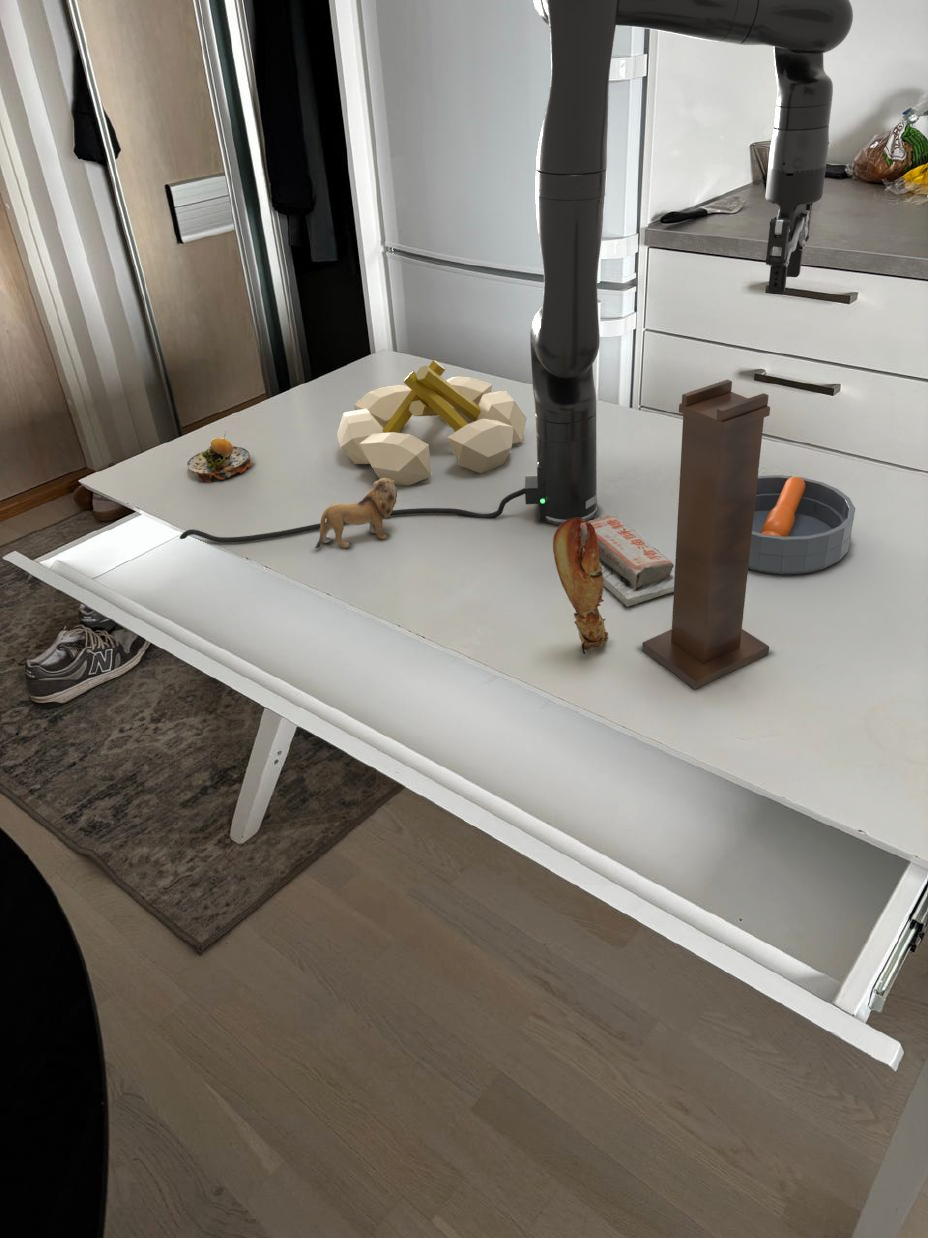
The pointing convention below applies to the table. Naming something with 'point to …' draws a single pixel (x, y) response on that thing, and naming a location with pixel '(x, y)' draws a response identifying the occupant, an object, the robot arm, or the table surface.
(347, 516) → the lion figurine
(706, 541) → the stand
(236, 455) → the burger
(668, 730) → the table surface
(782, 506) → the carrot
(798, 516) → the bowl
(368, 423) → the campfire
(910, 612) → the table surface
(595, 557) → the crab claw
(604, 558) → the packaged product
